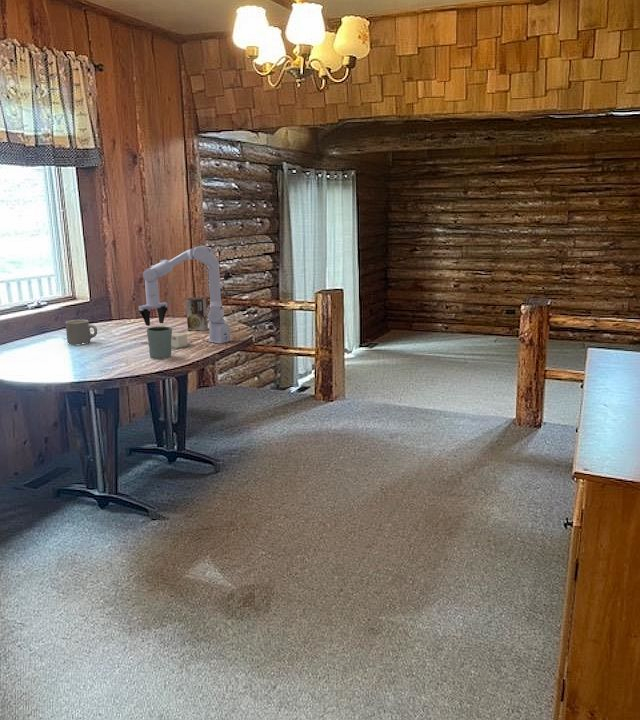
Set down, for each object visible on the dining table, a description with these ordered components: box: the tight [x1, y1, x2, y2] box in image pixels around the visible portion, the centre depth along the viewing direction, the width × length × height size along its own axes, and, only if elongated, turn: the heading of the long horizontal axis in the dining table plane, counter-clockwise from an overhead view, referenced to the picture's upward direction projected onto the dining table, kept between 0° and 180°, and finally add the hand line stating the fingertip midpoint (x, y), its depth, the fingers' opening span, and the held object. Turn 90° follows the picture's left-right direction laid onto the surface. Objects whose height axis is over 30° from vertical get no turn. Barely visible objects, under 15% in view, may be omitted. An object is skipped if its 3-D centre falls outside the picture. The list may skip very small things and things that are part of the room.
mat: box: [140, 340, 194, 350], centre depth 289 cm, size 24×11×1 cm, turn 51°
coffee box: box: [185, 297, 209, 331], centre depth 321 cm, size 9×6×16 cm
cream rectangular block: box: [171, 331, 188, 347], centre depth 285 cm, size 10×5×5 cm, turn 51°
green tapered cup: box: [146, 325, 173, 360], centre depth 262 cm, size 10×10×12 cm
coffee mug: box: [65, 319, 98, 345], centre depth 293 cm, size 13×10×10 cm
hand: (154, 324), depth 292 cm, fingers open, 7 cm apart
